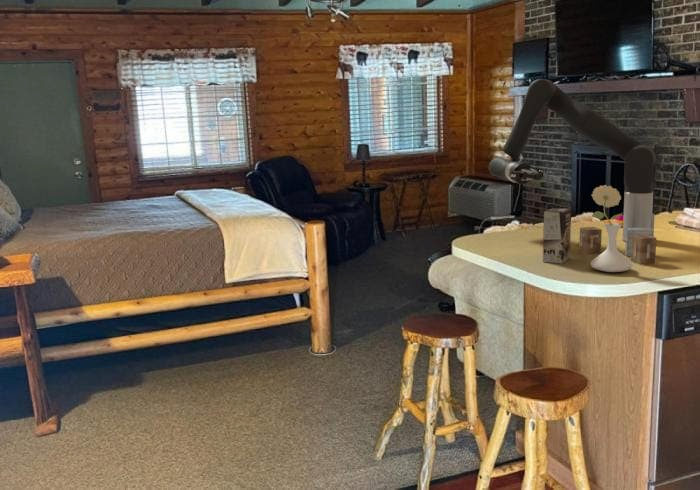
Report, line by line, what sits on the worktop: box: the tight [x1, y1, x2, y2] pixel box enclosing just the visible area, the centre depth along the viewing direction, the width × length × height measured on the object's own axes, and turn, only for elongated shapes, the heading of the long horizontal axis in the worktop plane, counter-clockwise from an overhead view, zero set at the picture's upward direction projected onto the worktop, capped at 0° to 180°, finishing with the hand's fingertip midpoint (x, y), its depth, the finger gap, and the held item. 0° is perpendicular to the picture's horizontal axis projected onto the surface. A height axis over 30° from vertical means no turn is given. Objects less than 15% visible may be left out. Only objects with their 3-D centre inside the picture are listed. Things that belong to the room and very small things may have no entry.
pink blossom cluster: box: [603, 214, 624, 228], centre depth 267 cm, size 8×8×4 cm
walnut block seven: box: [578, 226, 603, 255], centre depth 221 cm, size 5×5×8 cm
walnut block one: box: [630, 235, 657, 266], centre depth 204 cm, size 5×5×8 cm
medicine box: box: [625, 228, 655, 257], centre depth 214 cm, size 8×4×9 cm, turn 71°
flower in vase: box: [590, 184, 633, 273], centre depth 195 cm, size 13×11×25 cm
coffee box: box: [542, 207, 572, 264], centre depth 211 cm, size 9×6×16 cm
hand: (538, 176), depth 223 cm, fingers closed
